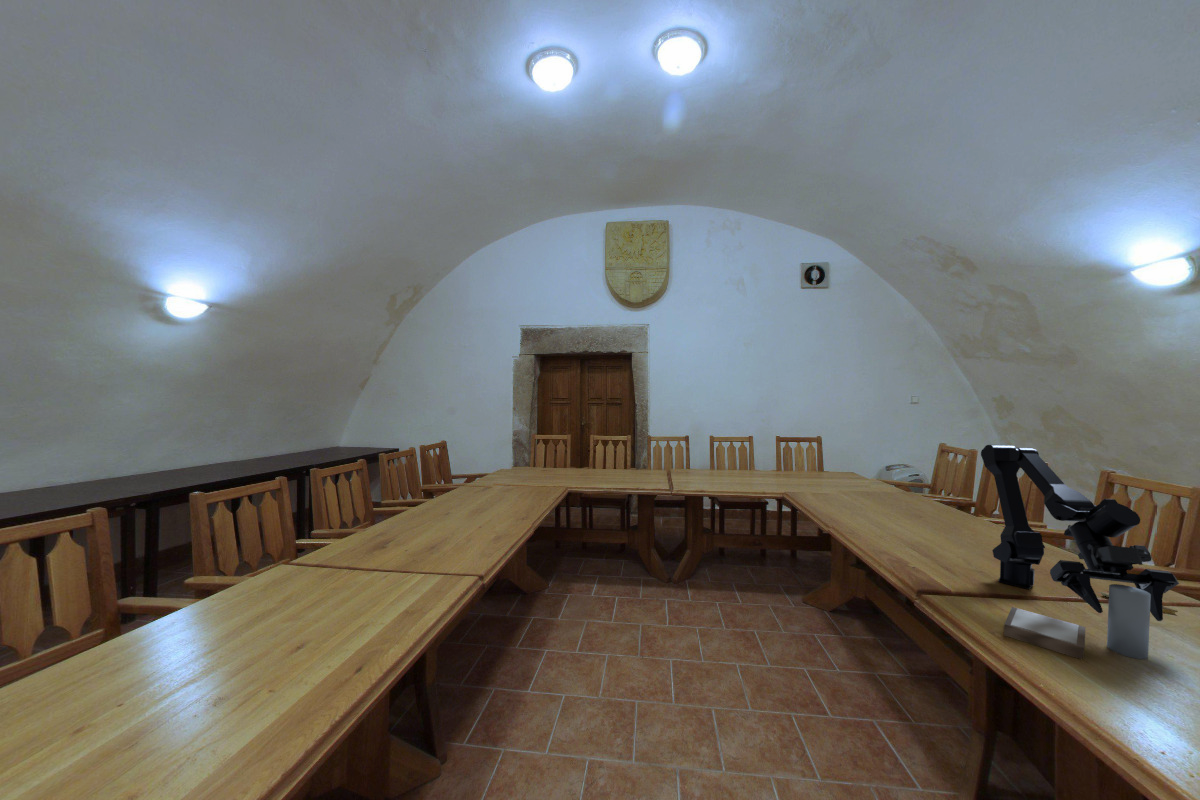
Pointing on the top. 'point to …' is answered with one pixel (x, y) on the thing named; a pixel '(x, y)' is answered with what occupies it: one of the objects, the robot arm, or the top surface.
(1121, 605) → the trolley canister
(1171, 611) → the shard
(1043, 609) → the top surface
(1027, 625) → the plate
